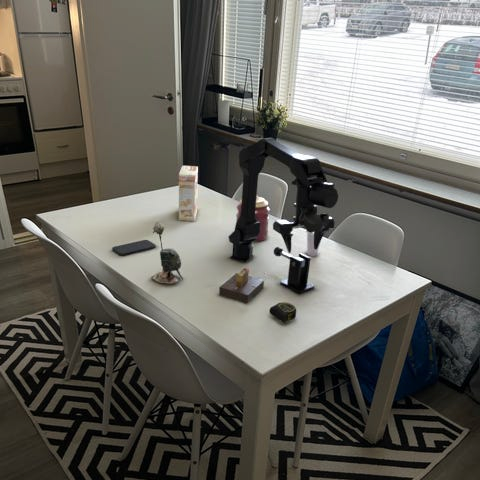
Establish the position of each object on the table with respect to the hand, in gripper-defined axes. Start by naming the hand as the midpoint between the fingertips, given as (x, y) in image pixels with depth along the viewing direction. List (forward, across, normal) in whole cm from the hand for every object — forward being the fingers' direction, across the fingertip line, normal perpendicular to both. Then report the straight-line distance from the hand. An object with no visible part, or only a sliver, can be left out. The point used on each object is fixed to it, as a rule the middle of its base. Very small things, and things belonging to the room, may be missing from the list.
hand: (302, 250), depth 160 cm
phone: (+8, -45, +46) cm, 65 cm away
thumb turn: (+10, -19, +4) cm, 22 cm away
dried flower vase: (+11, -39, +18) cm, 45 cm away
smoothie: (+12, +18, +26) cm, 34 cm away
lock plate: (+13, -19, +4) cm, 23 cm away
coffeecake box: (+7, -15, +78) cm, 79 cm away
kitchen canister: (+10, +2, +48) cm, 49 cm away
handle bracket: (+14, 0, +3) cm, 14 cm away
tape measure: (+15, -13, -15) cm, 25 cm away
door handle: (+6, -1, +7) cm, 9 cm away
